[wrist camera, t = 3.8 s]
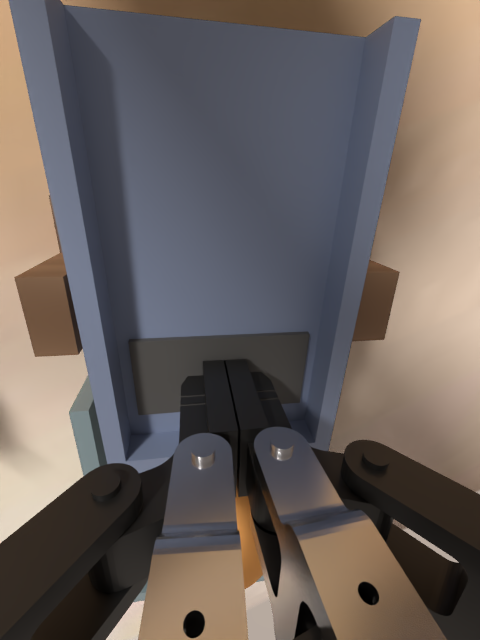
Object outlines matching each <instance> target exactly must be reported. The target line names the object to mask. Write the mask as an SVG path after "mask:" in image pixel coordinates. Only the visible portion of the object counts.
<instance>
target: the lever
mask: <svg viewBox="0 0 480 640" xmlns="http://www.w3.org/2000/svg"><path fill="white" fill-rule="evenodd" d="M9 4H10V9H11V14H12V18H13V23H14V28H15V32H16V37H17V42H18V47H19V51H20V56H21V61H22V65H23V70H24V75H25V79H26V84H27V89H28V94H29V98H30V103H31V108H32V112H33V117H34V122H35V126H36V131H37V136H38V140H39V145H40V150H41V155H42V159H43V164H44V169H45V173H46V178H47V183H48V187H49V192H50V197H51V202H52V206H53V211H54V216H55V220H56V225H57V230H58V234H59V239H60V244H61V248H62V253H63V258H64V263H65V267H66V272H67V277H68V281H69V286H70V291H71V295H72V300H73V305H74V310H75V314H76V319H77V324H78V328H79V333H80V338H81V342H82V347H83V352H84V357H85V361H86V366H87V371H88V375H89V380H90V385H91V389H92V394H93V399H94V403H95V408H96V413H97V418H98V422H99V427H100V432H101V436H102V441H103V446H104V450H105V455H106V460H107V464H111V463H124V464H128V465H130V466H132V467H134V468H135V469H136V470H137V471H138V473H142V472H144V471H147V470H150V469H152V468H155V467H157V466H159V465H161V464H163V463H164V462H166V461H167V460H168V459H169V458H170V457H171V456H172V455H173V454H174V452H175V450H176V448H177V446H178V444H179V429H180V401H181V385H182V383H183V382H184V381H185V379H186V378H187V376H199V375H203V364H202V362H203V361H210V360H228V359H246V361H247V364H248V367H249V370H250V372H262V373H263V374H264V375H266V376H267V377H268V378H269V379H270V380H271V382H272V384H273V386H274V389H275V391H276V393H277V396H278V399H279V400H280V402H281V405H282V407H283V409H284V412H285V414H286V416H287V418H288V421H289V423H290V425H291V428H292V430H295V431H296V432H298V433H300V434H301V435H302V436H303V437H304V438H305V439H306V440H307V442H308V444H309V445H310V446H311V447H313V448H316V449H319V450H323V451H328V450H329V445H330V441H331V436H332V431H333V427H334V422H335V417H336V413H337V408H338V403H339V399H340V394H341V389H342V385H343V380H344V375H345V371H346V366H347V361H348V357H349V352H350V348H351V343H352V338H353V334H354V329H355V324H356V320H357V315H358V310H359V306H360V301H361V296H362V292H363V287H364V282H365V278H366V273H367V268H368V264H369V259H370V255H371V250H372V245H373V241H374V236H375V231H376V227H377V222H378V217H379V213H380V208H381V203H382V199H383V194H384V189H385V185H386V180H387V176H388V171H389V166H390V162H391V157H392V152H393V148H394V143H395V138H396V134H397V129H398V124H399V120H400V115H401V110H402V106H403V101H404V96H405V92H406V87H407V83H408V78H409V73H410V69H411V64H412V59H413V55H414V50H415V45H416V41H417V36H418V31H419V27H420V22H421V19H415V18H407V17H398V16H395V17H393V18H392V19H390V20H389V21H388V22H386V23H385V24H383V25H382V26H381V27H379V28H378V29H377V30H375V31H374V32H372V33H371V34H370V35H368V36H367V37H357V36H348V35H339V34H329V33H320V32H311V31H302V30H292V29H283V28H274V27H264V26H255V25H246V24H236V23H227V22H218V21H208V20H199V19H190V18H180V17H171V16H162V15H152V14H143V13H134V12H124V11H115V10H106V9H96V8H87V7H78V6H68V5H63V3H62V2H61V1H60V0H9Z"/></svg>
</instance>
